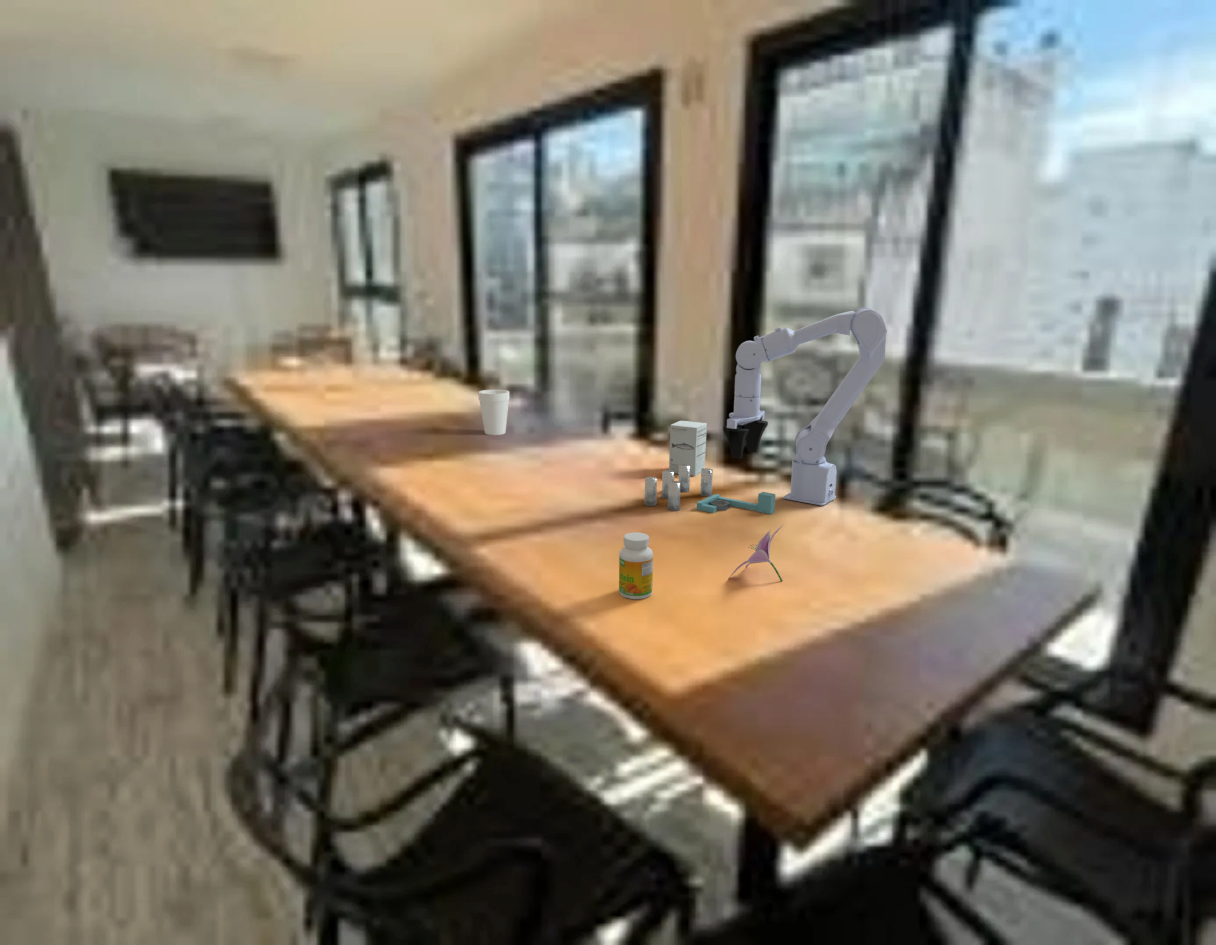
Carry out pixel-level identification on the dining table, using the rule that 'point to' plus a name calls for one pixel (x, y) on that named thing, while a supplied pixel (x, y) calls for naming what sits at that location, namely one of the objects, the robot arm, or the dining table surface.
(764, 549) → the lily
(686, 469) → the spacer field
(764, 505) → the hook tool
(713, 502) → the grey flat hexagonal block
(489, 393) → the foam cup
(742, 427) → the robot arm
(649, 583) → the supplement bottle
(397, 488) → the dining table surface
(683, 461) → the supplement box
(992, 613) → the dining table surface
